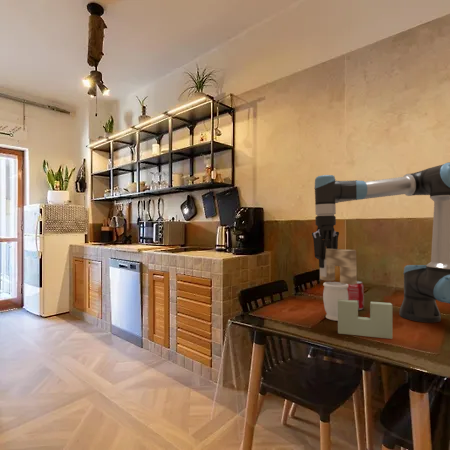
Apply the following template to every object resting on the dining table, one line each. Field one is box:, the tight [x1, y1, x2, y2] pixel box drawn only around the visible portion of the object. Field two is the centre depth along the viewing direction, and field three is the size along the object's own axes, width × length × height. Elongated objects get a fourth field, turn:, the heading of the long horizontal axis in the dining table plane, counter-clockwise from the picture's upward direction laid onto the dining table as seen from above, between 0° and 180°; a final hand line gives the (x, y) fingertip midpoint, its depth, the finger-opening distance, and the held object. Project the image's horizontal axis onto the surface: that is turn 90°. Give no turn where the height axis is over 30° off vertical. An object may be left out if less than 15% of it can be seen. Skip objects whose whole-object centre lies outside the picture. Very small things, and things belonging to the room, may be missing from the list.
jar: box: [322, 281, 349, 322], centre depth 131 cm, size 11×10×15 cm
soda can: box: [347, 280, 365, 311], centre depth 146 cm, size 7×7×13 cm
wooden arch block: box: [319, 248, 358, 285], centre depth 113 cm, size 14×3×12 cm, turn 33°
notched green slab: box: [337, 299, 393, 340], centre depth 111 cm, size 18×3×12 cm, turn 72°
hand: (326, 275), depth 117 cm, fingers closed on wooden arch block, 3 cm apart
